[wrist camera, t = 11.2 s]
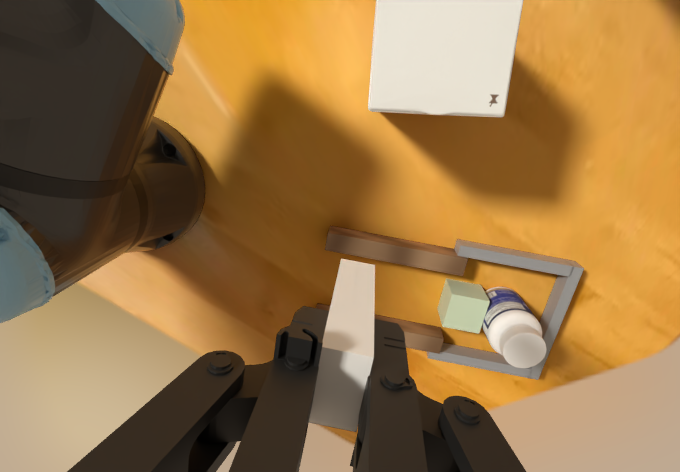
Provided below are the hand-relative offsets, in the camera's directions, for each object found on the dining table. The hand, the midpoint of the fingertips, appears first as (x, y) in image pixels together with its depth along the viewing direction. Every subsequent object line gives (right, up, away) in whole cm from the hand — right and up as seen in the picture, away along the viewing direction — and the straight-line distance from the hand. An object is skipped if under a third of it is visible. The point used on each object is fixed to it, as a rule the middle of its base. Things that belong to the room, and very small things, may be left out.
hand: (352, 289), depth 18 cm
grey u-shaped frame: (+18, -6, +28) cm, 34 cm away
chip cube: (+13, -5, +29) cm, 32 cm away
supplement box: (+7, +19, +21) cm, 29 cm away
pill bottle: (+18, -6, +29) cm, 34 cm away
